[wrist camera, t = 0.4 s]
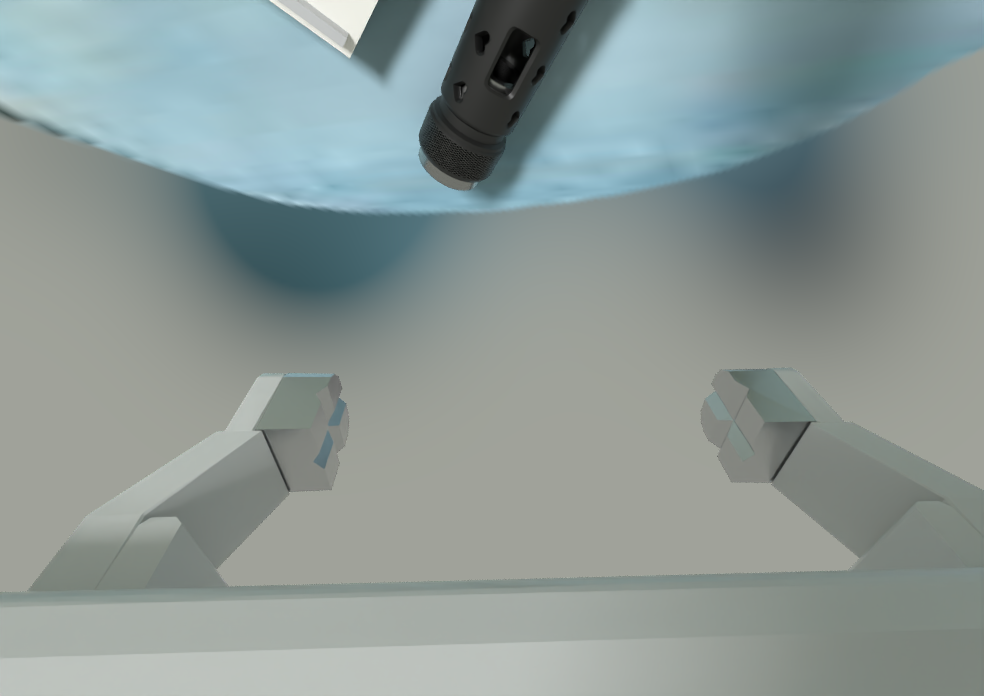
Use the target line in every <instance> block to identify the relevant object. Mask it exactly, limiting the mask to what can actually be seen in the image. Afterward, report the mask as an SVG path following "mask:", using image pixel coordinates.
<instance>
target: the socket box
mask: <svg viewBox="0 0 984 696" xmlns="http://www.w3.org/2000/svg"><path fill="white" fill-rule="evenodd" d="M270 1H271V2H273V3H274V4H275V5H277V6H278V7H279V8H281V9H282V10H284V11H285V12H286V13H288V14H289V15H291V16H292V17H293V18H295V19H296V20H297V21H299V22H300V23H302V24H303V25H304V26H306V27H307V28H309V29H310V30H311V31H313V32H314V33H315V34H317V35H318V36H320V37H321V38H322V39H324V40H325V41H327V42H328V43H329V44H331V45H332V46H333V47H335V48H336V49H338V50H339V51H340V52H342V53H343V54H345V55H346V56H347V57H349V58H350V57H351V55H352V53H353V51H354V49H355V47H356V45H357V42H358V40H359V38H360V36H361V34H362V32H363V30H364V28H365V26H366V24H367V22H368V20H369V18H370V16H371V14H372V12H373V10H374V8H375V6H376V4H377V2H378V0H270Z"/></svg>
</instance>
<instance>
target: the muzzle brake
mask: <svg viewBox="0 0 984 696" xmlns="http://www.w3.org/2000/svg"><path fill="white" fill-rule="evenodd" d="M587 2H588V0H476V2H475V5H474V7H473V10H472V12H471V14H470V18H469V20H468V22H467V24H466V27H465V29H464V31H463V34H462V36H461V39H460V41H459V44H458V46H457V48H456V51H455V53H454V56H453V58H452V61H451V63H450V66H449V68H448V70H447V73H446V75H445V78H444V80H443V83H442V86H441V93H442V95H441V96H439V97H437V98H436V100H434V101H433V102H432V103H431V105H430V107H429V110H428V112H427V115H426V117H425V120H424V122H423V125H422V127H421V129H420V133H419V142H420V146H421V147H420V150H419V159H420V162H421V164H422V166H423V167H424V169H425V170H426V171H427V172H428V173H429V174H430V175H431V176H432V177H433V178H434V179H436V180H437V181H438V182H440V183H441V184H443V185H445V186H447V187H449V188H452V189H456V190H463V191H466V190H471V189H473V188H474V187H476V186H477V184H478V182H480V181H482V180H484V179H486V178H487V177H488V176H490V174H491V172H492V171H493V169H494V167H495V166H496V164H497V162H498V160H499V159H500V157H501V155H502V154H503V152H504V150H505V143H506V138H505V136H507V135H509V134H510V133H511V132H512V131H513V130H514V128H515V126H516V124H517V123H518V121H519V119H520V117H521V116H522V114H523V112H524V111H525V109H526V107H527V105H528V104H529V102H530V100H531V98H532V97H533V95H534V93H535V92H536V90H537V88H538V86H539V85H540V83H541V81H542V79H543V78H544V76H545V74H546V73H547V71H548V69H549V67H550V66H551V64H552V62H553V60H554V59H555V57H556V55H557V54H558V52H559V50H560V48H561V47H562V45H563V43H564V41H565V40H566V38H567V36H568V35H569V33H570V31H571V29H572V28H573V26H574V24H575V22H576V21H577V19H578V17H579V16H580V14H581V12H582V10H583V9H584V7H585V5H586V3H587ZM531 39H534V41H535V44H534V47H533V48H532V49H530V54H529V56H527V55H526V46H525V42H526V41H528V40H531Z"/></svg>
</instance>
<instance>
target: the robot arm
mask: <svg viewBox="0 0 984 696" xmlns="http://www.w3.org/2000/svg"><path fill="white" fill-rule="evenodd" d="M711 384H712V386H713V388H714V390H715V392H713V393H712V394H711V395H709V396H708V397H707V398H706V399H705V400H704V403H703V406H702V409H701V424H702V427H703V431H704V433H705V435H706V437H707V439H708V440H709V441H710V442H712V443H713V444H714V445H716V446H717V447H719V448H720V450H719V453H718V456H717V457H718V459H719V461H720V462H721V464H722V466H723V468H724V470H725V471H726V473H727V475H728V477H729V479H730V480H731V482H754V483H759V482H761V483H772V484H771V485H772V486H774V487H775V488H776V489H777V490H778V491H780V492H781V493H782V494H783V495H784V496H786V497H787V498H788V499H789V500H790V501H792V502H793V503H794V504H795V505H796V506H798V507H799V508H800V509H801V510H802V511H804V512H805V513H806V514H807V515H808V516H810V517H811V518H812V519H813V520H815V521H816V522H817V523H818V524H819V525H821V526H822V527H823V528H824V529H825V530H827V531H828V532H829V533H830V534H831V535H833V536H834V537H835V538H836V539H837V540H839V541H840V542H841V543H842V544H843V545H845V546H846V547H847V548H848V549H849V550H851V551H852V552H853V553H854V554H855V555H857V556H858V557H859V558H860V559H859V560H858V561H857V562H856V563H855V564H854V565H853V566H852V567H851V568H850V569H849V570H848V571H815V572H814V571H813V572H812V571H811V572H774V573H773V572H772V573H735V574H699V575H697V574H695V575H656V576H618V577H579V578H542V579H508V580H507V579H505V580H470V581H469V580H467V581H429V582H390V583H389V582H388V583H350V584H314V585H313V584H311V585H271V586H235V587H233V586H232V587H229V586H228V584H227V583H226V582H225V580H224V579H223V578H222V576H221V575H220V574H219V572H218V571H217V570H216V569H217V568H218V567H219V566H220V565H221V564H222V563H223V562H224V561H225V560H226V559H227V558H228V557H229V556H230V555H231V554H232V553H233V552H234V551H235V550H236V549H237V547H239V546H240V545H241V544H242V543H243V542H244V540H245V539H246V538H247V537H248V536H249V535H250V534H251V533H252V532H253V531H254V530H255V529H256V528H257V527H258V526H259V525H260V524H261V523H262V522H263V521H264V520H265V519H266V518H267V517H268V516H269V515H270V514H271V513H272V512H273V510H275V508H276V507H278V506H279V504H280V503H281V502H282V501H283V500H284V499H285V498H286V497H287V496H288V495H289V492H296V491H319V490H332V486H333V483H334V480H335V477H336V474H337V470H338V467H339V464H340V463H339V459H338V456H337V453H338V451H340V450H341V449H342V448H343V447H344V446H345V444H346V440H347V437H348V429H349V416H348V409H347V405H346V403H345V402H344V401H342V400H341V399H340V398H339V396H340V393H341V390H342V386H341V383H340V379H339V376H337V375H336V374H297V373H295V374H292V373H288V374H262V375H260V376H259V377H258V378H257V379H256V380H255V382H254V384H253V385H252V387H251V389H250V391H249V392H248V394H247V396H246V397H245V399H244V400H243V402H242V404H241V405H240V407H239V409H238V410H237V412H236V414H235V415H234V417H233V418H232V420H231V422H230V424H229V425H228V427H227V429H226V430H225V431H217V432H215V433H214V434H213V435H211V436H209V437H208V438H206V439H204V440H203V441H201V442H200V443H198V444H197V445H195V446H194V447H192V448H191V449H189V450H188V451H186V452H185V453H183V454H181V455H180V456H178V457H177V458H175V459H174V460H172V461H170V462H169V463H167V464H166V465H164V466H163V467H161V468H160V469H158V470H157V471H155V472H154V473H152V474H151V475H149V476H147V477H146V478H144V479H143V480H141V481H139V482H138V483H136V484H135V485H133V486H132V487H130V488H129V489H127V490H126V491H124V492H122V493H121V494H119V495H118V496H116V497H115V498H113V499H112V500H110V501H109V502H107V503H105V504H104V505H102V506H101V507H99V508H98V509H96V510H95V511H93V512H92V513H90V514H89V515H87V516H86V517H85V518H84V519H83V520H82V522H81V523H80V524H79V526H78V527H77V528H76V529H75V531H74V532H73V533H72V534H71V536H70V537H69V538H68V540H67V541H66V542H65V543H64V545H63V546H62V547H61V549H60V550H59V551H58V553H57V554H56V555H55V556H54V558H53V559H52V560H51V562H50V563H49V564H48V565H47V567H46V568H45V569H44V571H43V572H42V573H41V574H40V576H39V577H38V578H37V579H36V581H35V582H34V583H33V585H32V586H31V587H30V588H29V590H28V591H27V592H0V696H984V490H982V489H980V488H978V487H976V486H974V485H972V484H970V483H968V482H966V481H965V480H963V479H961V478H959V477H957V476H955V475H953V474H951V473H949V472H947V471H945V470H943V469H942V468H940V467H938V466H936V465H934V464H932V463H930V462H928V461H926V460H924V459H922V458H921V457H919V456H917V455H914V454H913V453H911V452H909V451H907V450H905V449H903V448H901V447H899V446H897V445H896V444H894V443H891V442H890V441H888V440H886V439H884V438H882V437H880V436H878V435H876V434H874V433H872V432H870V431H869V430H867V429H865V428H863V427H861V426H859V425H857V424H855V423H853V422H844V421H843V420H842V418H841V417H840V416H839V415H838V414H837V413H836V412H835V411H834V410H833V409H832V408H831V406H830V405H829V404H828V403H827V402H826V401H825V400H824V399H823V398H822V397H821V396H820V394H819V393H818V392H817V391H816V390H815V389H814V388H813V387H812V386H811V385H810V384H809V382H808V381H807V380H806V379H805V378H804V377H803V376H802V375H801V374H800V372H799V371H797V370H795V369H793V368H768V369H735V370H720V371H719V372H718V373H717V374H716V375H715V377H714V379H713V381H712V383H711Z"/></svg>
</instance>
